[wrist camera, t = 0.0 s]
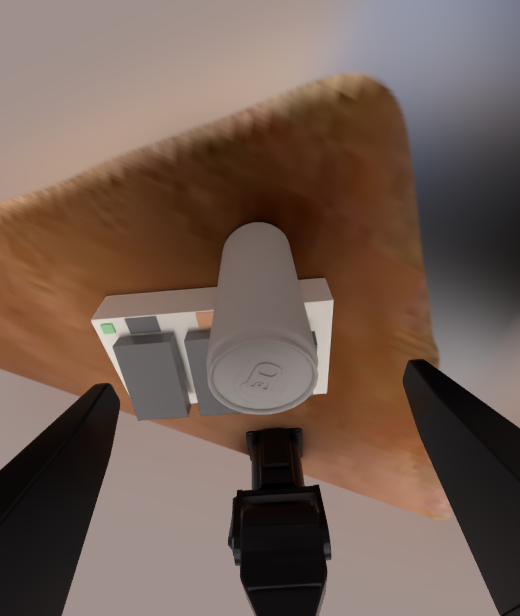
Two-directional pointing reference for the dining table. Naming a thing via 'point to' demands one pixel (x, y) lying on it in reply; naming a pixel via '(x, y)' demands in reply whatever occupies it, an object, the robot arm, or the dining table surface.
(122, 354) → the block
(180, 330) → the rocker switch panel
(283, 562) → the robot arm
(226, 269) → the beverage can
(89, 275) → the dining table surface
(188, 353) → the block
